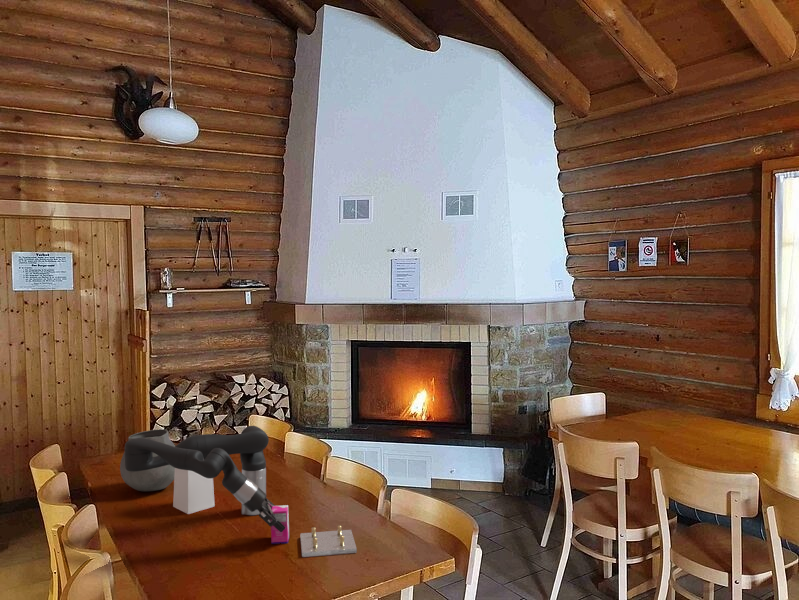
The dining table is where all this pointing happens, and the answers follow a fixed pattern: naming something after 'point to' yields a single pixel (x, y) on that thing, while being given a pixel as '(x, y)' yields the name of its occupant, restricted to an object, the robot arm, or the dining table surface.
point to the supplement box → (282, 517)
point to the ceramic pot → (151, 477)
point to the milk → (192, 491)
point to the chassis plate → (327, 542)
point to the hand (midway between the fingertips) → (283, 525)
